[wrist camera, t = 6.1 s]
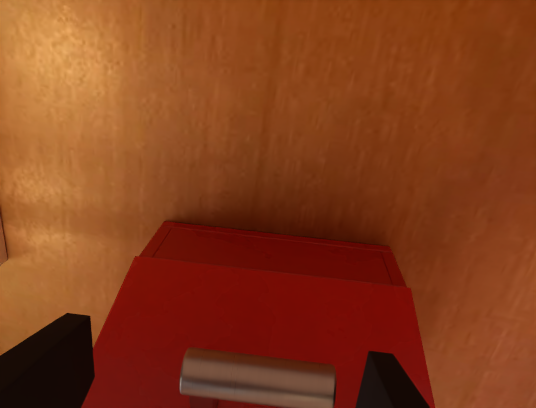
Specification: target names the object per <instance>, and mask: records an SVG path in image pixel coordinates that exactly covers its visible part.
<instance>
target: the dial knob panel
mask: <svg viewBox="0 0 536 408" xmlns="http://www.w3.org/2000/svg"><path fill="white" fill-rule="evenodd" d="M5 261H7V253H6V247H5V241H4V235H3V229H2V222H1V216H0V265H1V264H3V263H4V262H5Z"/></svg>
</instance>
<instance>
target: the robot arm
mask: <svg viewBox="0 0 536 408" xmlns="http://www.w3.org/2000/svg"><path fill="white" fill-rule="evenodd" d="M94 378H95V371H94V359H93V346H92V333H91V321H90V316H87V315H79V314H71V313H66V314H65V315H63V316H61V317H60V318H58V319H57V320H55V321H53V322H52V323H50V324H49V325H47V326H46V327H44V328H43V329H41V330H40V331H38V332H36V333H35V334H33V335H32V336H30V337H29V338H27V339H26V340H24V341H23V342H21V343H20V344H18V345H16V346H15V347H13V348H12V349H10V350H9V351H7V352H5V353H4V354H2V355H1V356H0V408H81V407H82V405H83V403H84V401H85V398H86V396H87V394H88V392H89V389H90V387H91V385H92V382H93V380H94ZM355 408H430V406H429V405H428V403H427V402H426V401H425V399H424V398H423V396H422V395H421V393H420V392H419V391H418V389H417V388H416V386H415V385H414V383H413V382H412V380H411V379H410V378H409V376H408V375H407V373H406V372H405V370H404V369H403V367H402V366H401V364H400V363H399V361H398V360H397V358H396V357H395V356H394V354H393V353H385V352H376V351H368V355H367V360H366V364H365V368H364V373H363V377H362V381H361V385H360V390H359V394H358V398H357V402H356V407H355Z"/></svg>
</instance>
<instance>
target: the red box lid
mask: <svg viewBox="0 0 536 408" xmlns="http://www.w3.org/2000/svg"><path fill="white" fill-rule="evenodd" d="M368 351H376V352H385V353H393V354H394V356H395V357H396V358H397V360H398V361H399V363H400V364H401V366H402V367H403V369H404V370H405V372H406V373H407V375H408V376H409V378H410V379H411V380H412V382H413V383H414V385H415V386H416V388H417V389H418V391H419V392H420V393H421V395H422V396H423V398H424V399H425V401H426V402H427V403H428V405H429V406H430V408H435V404H434V399H433V395H432V390H431V385H430V380H429V375H428V370H427V365H426V360H425V356H424V351H423V346H422V341H421V336H420V331H419V326H418V321H417V316H416V312H415V307H414V302H413V297H412V292H411V288H406V287H397V286H389V285H380V284H371V283H363V282H354V281H345V280H337V279H328V278H320V277H311V276H302V275H294V274H285V273H276V272H268V271H259V270H251V269H242V268H233V267H225V266H216V265H207V264H199V263H190V262H182V261H173V260H164V259H156V258H147V257H138V256H135V258H134V260H133V262H132V264H131V266H130V268H129V271H128V273H127V275H126V277H125V279H124V282H123V284H122V286H121V288H120V290H119V293H118V295H117V297H116V299H115V301H114V304H113V306H112V308H111V310H110V312H109V315H108V317H107V319H106V321H105V323H104V325H103V328H102V330H101V332H100V334H99V336H98V339H97V341H96V343H95V345H94V347H93V359H94V371H95V378H94V380H93V382H92V385H91V387H90V389H89V392H88V394H87V396H86V398H85V401H84V403H83V405H82V407H81V408H355V407H356V402H357V398H358V394H359V390H360V385H361V381H362V377H363V373H364V368H365V364H366V360H367V355H368Z"/></svg>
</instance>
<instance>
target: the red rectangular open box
mask: <svg viewBox="0 0 536 408" xmlns="http://www.w3.org/2000/svg"><path fill="white" fill-rule="evenodd" d="M139 257H147V258H156V259H164V260H173V261H182V262H190V263H199V264H207V265H216V266H225V267H233V268H242V269H251V270H259V271H268V272H276V273H285V274H294V275H302V276H311V277H320V278H328V279H337V280H345V281H354V282H363V283H371V284H380V285H389V286H397V287H406V288H407V286H406V284H405V281H404V279H403V277H402V274H401V272H400V269H399V267H398V265H397V262H396V260H395V257H394V255H393V253H392V250H391V248H390V247H389V246H380V245H371V244H362V243H353V242H345V241H336V240H327V239H318V238H309V237H300V236H291V235H283V234H274V233H265V232H256V231H247V230H238V229H230V228H221V227H212V226H203V225H194V224H185V223H176V222H168V221H164V222H163V224H162V225H161V227H160V228H159V229H158V230H157V232H156V233H155V235H154V236H153V237H152V239H151V240H150V242H149V243H148V244H147V246H146V247H145V249H144V250H143V251H142V253H141V254H140V255H139Z"/></svg>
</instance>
